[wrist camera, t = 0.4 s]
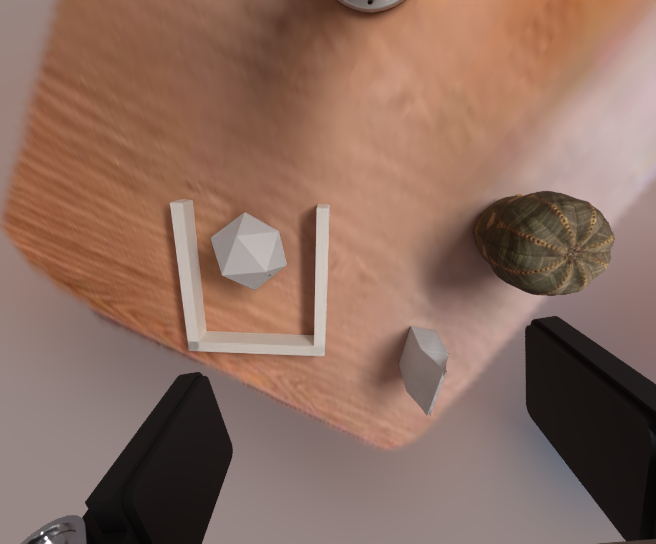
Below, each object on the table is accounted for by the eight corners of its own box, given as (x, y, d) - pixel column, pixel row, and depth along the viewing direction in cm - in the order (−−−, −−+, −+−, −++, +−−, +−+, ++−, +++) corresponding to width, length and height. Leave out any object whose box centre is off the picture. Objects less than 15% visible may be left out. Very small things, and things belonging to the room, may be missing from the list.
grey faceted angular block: (398, 364, 50) (413, 413, 41) (410, 325, 48) (429, 368, 38) (422, 369, 50) (442, 418, 41) (435, 330, 48) (459, 373, 39)
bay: (181, 199, 42) (169, 202, 40) (329, 204, 42) (329, 208, 39) (197, 339, 49) (188, 350, 47) (325, 344, 49) (324, 356, 46)
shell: (531, 279, 45) (597, 321, 34) (455, 258, 44) (496, 294, 33) (572, 200, 41) (660, 218, 30) (489, 176, 41) (548, 185, 29)
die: (229, 273, 46) (256, 314, 40) (189, 231, 40) (213, 271, 34) (276, 237, 48) (309, 271, 41) (243, 191, 41) (276, 222, 35)
